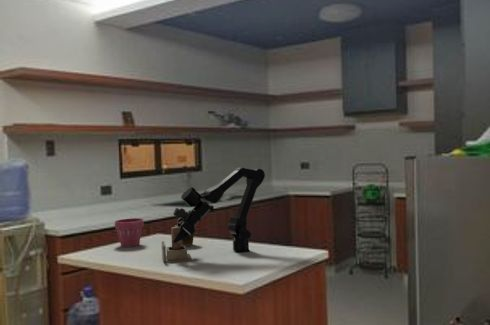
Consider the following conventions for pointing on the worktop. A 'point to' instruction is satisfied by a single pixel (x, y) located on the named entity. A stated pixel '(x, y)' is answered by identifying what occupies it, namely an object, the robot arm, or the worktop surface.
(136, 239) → the plant pot
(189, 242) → the ceramic cup
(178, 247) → the wooden pestle
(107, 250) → the worktop surface
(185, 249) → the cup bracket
